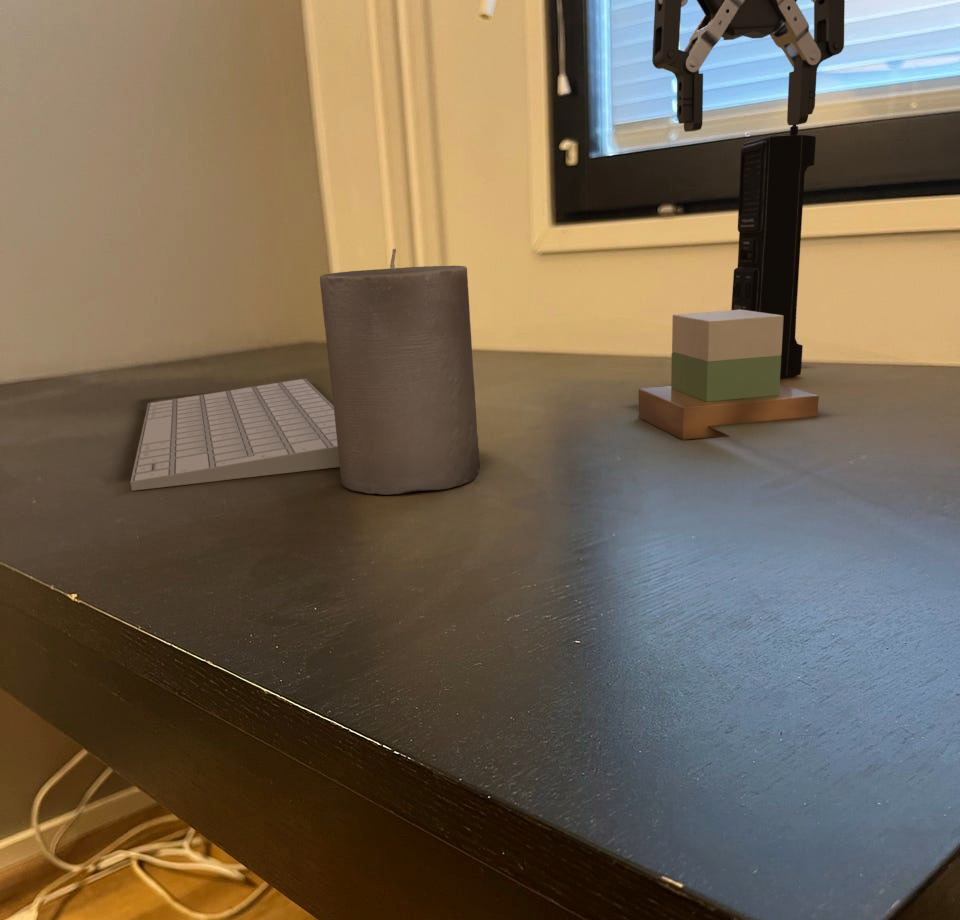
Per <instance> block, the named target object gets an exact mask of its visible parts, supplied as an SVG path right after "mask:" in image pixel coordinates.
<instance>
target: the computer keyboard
mask: <svg viewBox="0 0 960 920" xmlns="http://www.w3.org/2000/svg"><path fill="white" fill-rule="evenodd" d="M334 468H340V463H339V453H338V445H337V434H336V425H335V415H334V405H333V403H331V402H330V401H329V400H328V399H327V398H326V397H325V396H324V395H323V394H322V393H321V392H320V391H319V390H318V389H317V388H316V387H315V386H314V385H313V384H312V383H311V382H309V380H308V379H307V378H300V379H299V378H298V379H293V380H286V381H281V382H280V381H279V382H275V383H267V384H261V385H255V386H249V387H243V388H236V389H229V390H222V391H217V392H210V393H209V392H208V393H205V394H203V393H202V394H197V395H191V396H184V397H179V398H173V399H165V400H159V401H152V402H147V406H146V411H145V416H144V419H143V424H142V428H141V433H140V436H139V442H138V446H137V450H136V454H135V460H134V464H133V469H132V473H131V477H130V481H129V484H130V487H131V488H130V489H131V491H133V492H135V491H141V490H142V491H143V490H150V489H159V488H166V487H167V488H169V487H177V486H185V485H194V484H202V483H203V484H204V483H212V482H221V481H229V480H238V479H245V478H247V479H248V478H255V477H263V476H272V475H282V474H290V473H298V472H305V471H306V472H307V471H315V470H324V469H334Z"/></svg>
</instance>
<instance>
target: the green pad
mask: <svg viewBox="0 0 960 920" xmlns="http://www.w3.org/2000/svg"><path fill="white" fill-rule="evenodd" d="M670 370H671V371H670V372H671V375H670V376H671V377H670V378H671V379H670V380H671V381H670V382H671V383H670V386H671V389H674V390H677V391H679V392H682V393H685V394H687V395H690V396H693V397H695V398H698V399H700V400H703V401H706V402H712V401H723V400H734V399H746V398H757V397H768V396H779V388H780V385H781V378H780V370H781V356H775V357H763V358H751V359H739V360H726V361H714V362H707V361H703V360H699V359H696V358H692V357H689V356H685V355H681V354H678V353H674V352H672V351H671V369H670Z"/></svg>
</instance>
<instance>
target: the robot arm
mask: <svg viewBox="0 0 960 920" xmlns="http://www.w3.org/2000/svg"><path fill="white" fill-rule="evenodd" d="M797 1H798V0H696V2H697V4H698V5H699V7H700V9H701V10H702V12H703V13H704V15H703V17H702V18H701V20H700V22H699V24H698V25H697V27H696V28H695V29H694V31H693V33H692V35H691V36H690V38H689V41H688V44H687V45H686V47H685V48H684V50H682V49H680V34H681V33H680V32H681V13H682V8H683V7H684V6H686V5H687V3H688V2H689V0H654V16H653V36H652V37H653V38H652V58H651V59H652V60H651V61H652V64H653V65H652V66H653V67H654V68H655V69H658V70H661V69H662V70H666V71H668V72H671V73H672V74H673V75H674V76H675V78H676V118H677V121H678V123H679V124H683V131H684V132H686V133H688V132H696V131H701V130H702V127H703V120H704V119H703V117H704V116H703V113H704V111H703V110H704V109H703V108H704V105H703V104H704V100H703V99H704V73H700V69H701V67H702V66H703V64H704V63H705V61H706V60H707V58H708V57H709V55H710V53H711V51H712V49H714V47H715V46H716V45H717V44H718V43H719V42H720V40H721V38H722V39H723V41H733V40H735V39H740V38H741V37H746V38H749V39H763V38H765V37H768V36H770V38H771V39H772V41H773V42H774V43H775V45H776V46H777V47H778V48H780V49H781V50H782V52H783V53H784V55H785V57H786V58H787V60H788V61H789V63H790V65H791V66H792V68H793V70H792V71H790V72H788V89H787V90H788V92H787V111H786V112H787V113H786V122H787V125H788V126H793V125H796V126H799V125H804V124H806V123H807V122H808V119H809V116H810V115H813V113H814V110H815V107H816V91H817V74H818V68H819V66H820V64H821V63H822V62H825V60H828V59H830V58H832V57H834V56H837V55H839V54H841V53H842V52H843V50H844V48H845V5H846V3H845V2H846V1H845V0H810V1H811V2H812V3H813V35H812V34H811V33H810V25H809V22H808V21H807V19H806V17H805V15H804V14H803V12H802V10H801V9H800V7H799V5H798V3H797Z"/></svg>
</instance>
